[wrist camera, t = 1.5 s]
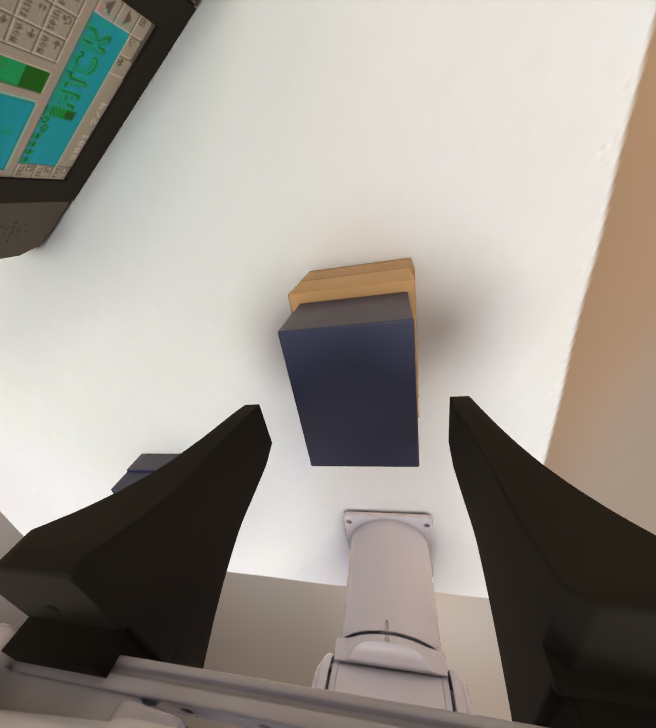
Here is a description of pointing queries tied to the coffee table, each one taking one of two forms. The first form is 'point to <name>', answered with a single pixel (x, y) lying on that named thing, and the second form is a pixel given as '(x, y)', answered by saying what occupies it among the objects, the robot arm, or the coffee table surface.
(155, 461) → the navy blue block
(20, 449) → the coffee table surface
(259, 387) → the coffee table surface
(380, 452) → the navy rectangular block
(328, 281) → the tan books
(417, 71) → the coffee table surface
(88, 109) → the handheld gaming console
